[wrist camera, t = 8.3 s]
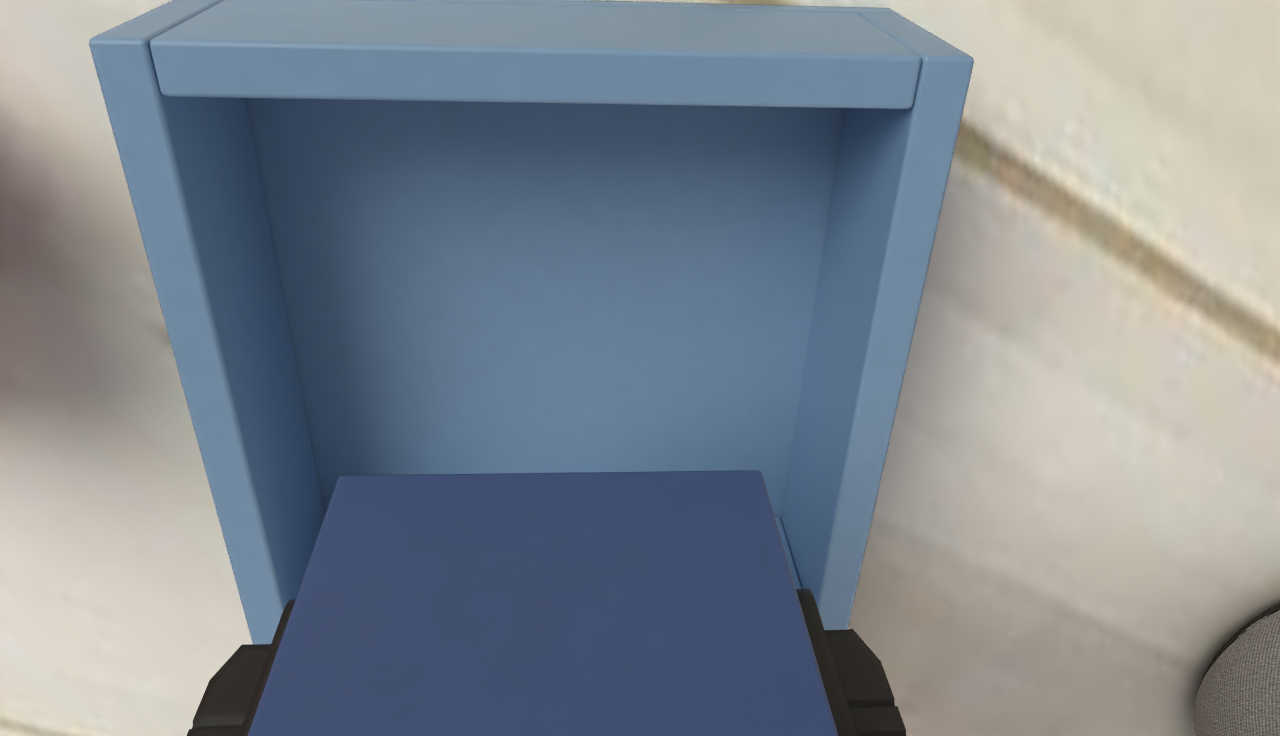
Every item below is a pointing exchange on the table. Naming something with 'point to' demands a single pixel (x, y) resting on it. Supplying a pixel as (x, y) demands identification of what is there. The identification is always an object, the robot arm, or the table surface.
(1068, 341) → the table surface
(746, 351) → the blue bin
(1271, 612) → the smart speaker
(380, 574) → the blue block
